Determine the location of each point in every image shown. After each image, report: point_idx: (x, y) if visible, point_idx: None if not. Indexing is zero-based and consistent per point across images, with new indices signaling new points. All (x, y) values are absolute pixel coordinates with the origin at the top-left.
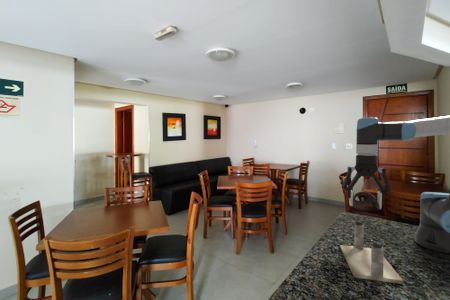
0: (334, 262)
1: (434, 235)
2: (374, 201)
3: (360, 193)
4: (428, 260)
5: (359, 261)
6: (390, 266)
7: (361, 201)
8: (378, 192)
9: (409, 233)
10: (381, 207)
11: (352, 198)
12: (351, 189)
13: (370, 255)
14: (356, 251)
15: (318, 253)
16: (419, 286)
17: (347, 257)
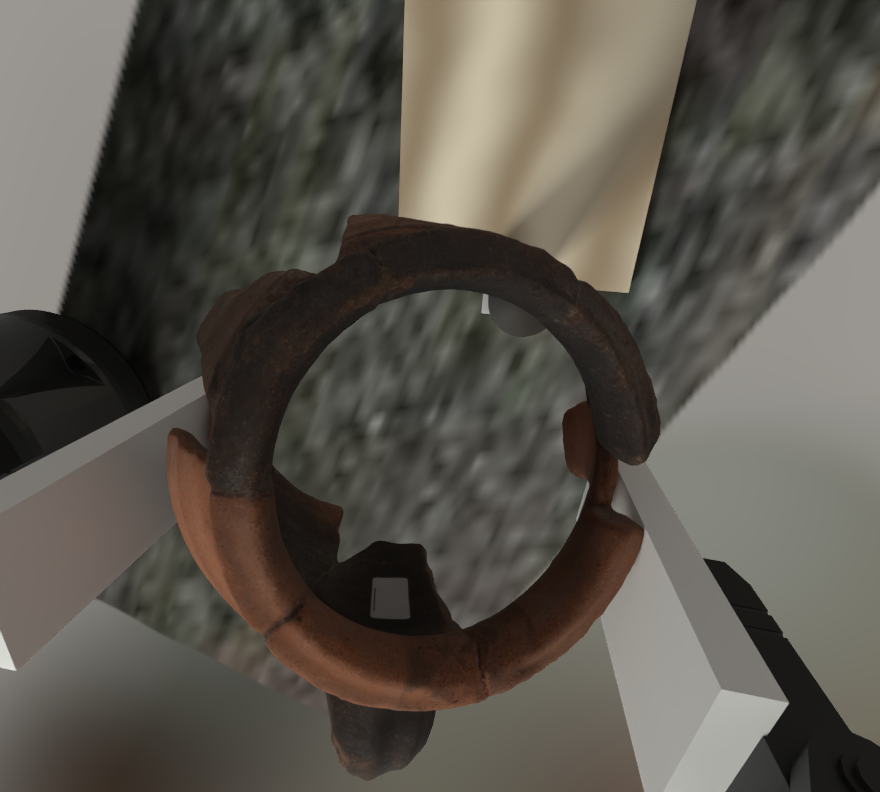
0: (776, 35)
1: (13, 373)
2: (258, 281)
3: (444, 649)
4: (160, 208)
5: (603, 33)
6: (412, 5)
7: (562, 283)
8: (4, 614)
9: None
10: (199, 378)
11: (649, 520)
12: (809, 786)
13: (481, 159)
14: (553, 205)
15: (836, 167)
16: None
17: (667, 85)
